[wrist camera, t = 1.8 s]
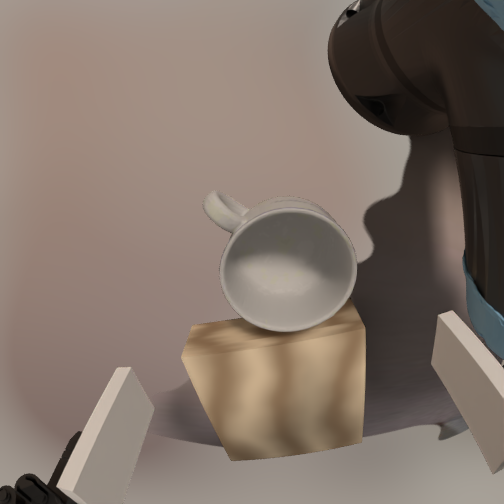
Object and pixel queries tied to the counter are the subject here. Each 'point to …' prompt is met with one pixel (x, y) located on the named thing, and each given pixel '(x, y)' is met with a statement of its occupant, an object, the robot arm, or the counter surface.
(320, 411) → the wooden riser stand
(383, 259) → the counter surface
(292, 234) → the teacup
